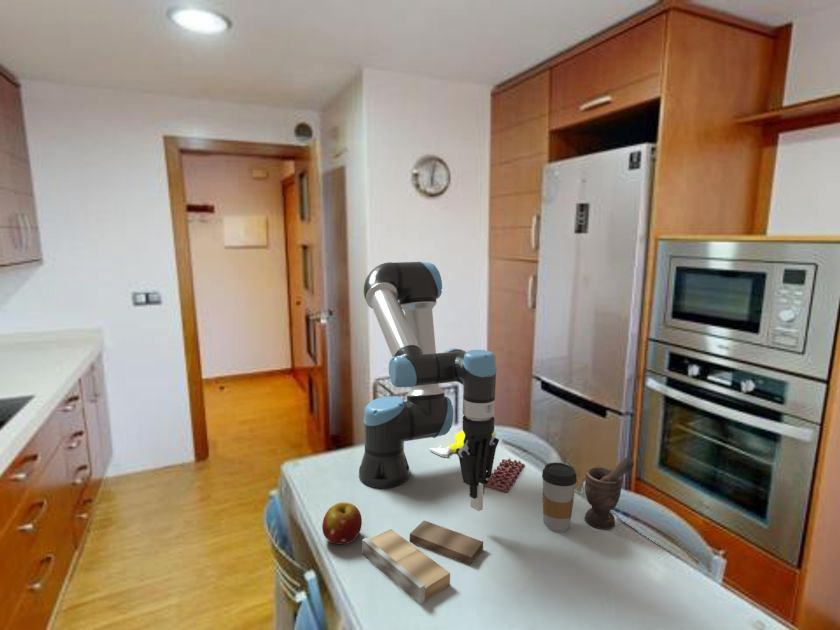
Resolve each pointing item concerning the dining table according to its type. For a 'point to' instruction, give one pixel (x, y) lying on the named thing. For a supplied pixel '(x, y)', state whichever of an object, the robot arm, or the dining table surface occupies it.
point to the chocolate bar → (505, 475)
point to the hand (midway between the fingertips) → (476, 508)
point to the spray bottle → (451, 448)
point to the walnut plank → (447, 542)
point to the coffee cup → (558, 495)
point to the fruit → (342, 523)
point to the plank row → (406, 565)
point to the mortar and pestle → (604, 492)
